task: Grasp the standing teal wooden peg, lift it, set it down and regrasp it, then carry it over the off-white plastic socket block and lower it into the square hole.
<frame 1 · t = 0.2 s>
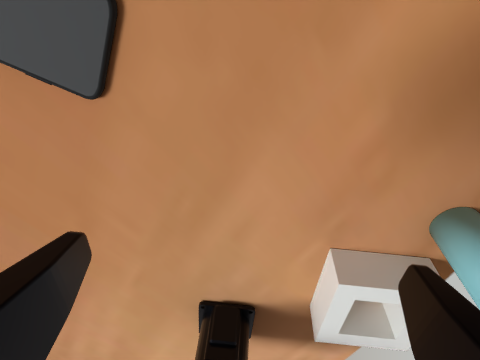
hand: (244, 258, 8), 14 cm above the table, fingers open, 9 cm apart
socket: (364, 284, 31), on the table
peg: (454, 224, 25), on the table
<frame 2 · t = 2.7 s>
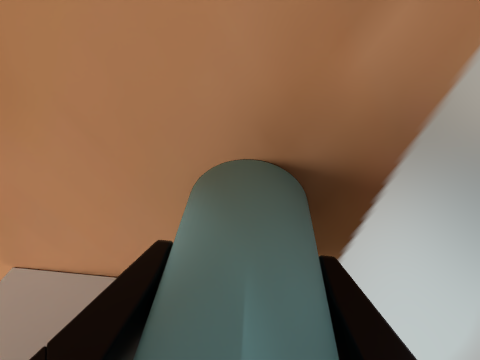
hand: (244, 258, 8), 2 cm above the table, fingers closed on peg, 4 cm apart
socket: (136, 336, 15), on the table
peg: (247, 210, 10), on the table, touching gripper
when the fingers open (2 cm above the table, at t = 6.0 s): peg stays where it is, on the table.
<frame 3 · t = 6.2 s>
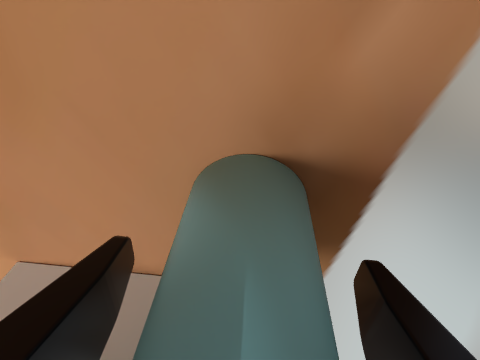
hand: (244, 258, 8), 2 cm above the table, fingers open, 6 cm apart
socket: (138, 331, 15), on the table
peg: (248, 205, 10), on the table
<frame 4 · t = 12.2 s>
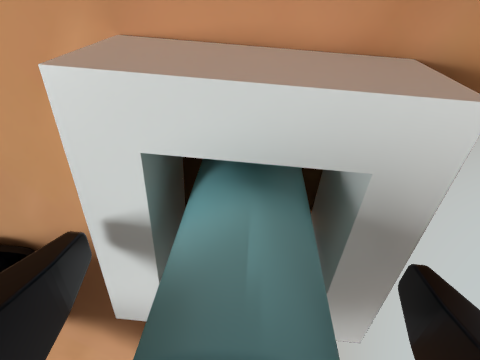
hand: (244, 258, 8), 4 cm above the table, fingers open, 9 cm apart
socket: (251, 171, 12), on the table
peg: (250, 171, 12), resting in socket
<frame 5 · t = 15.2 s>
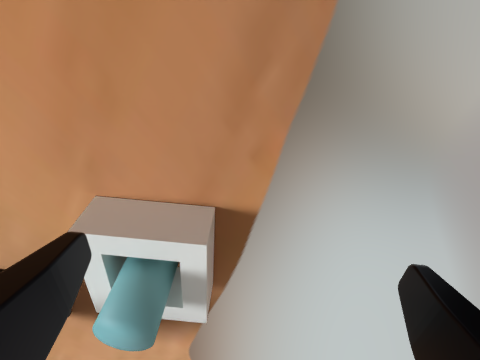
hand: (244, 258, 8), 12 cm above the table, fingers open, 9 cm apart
socket: (160, 243, 26), on the table
peg: (159, 243, 26), resting in socket
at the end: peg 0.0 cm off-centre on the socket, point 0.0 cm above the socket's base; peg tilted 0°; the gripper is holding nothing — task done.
